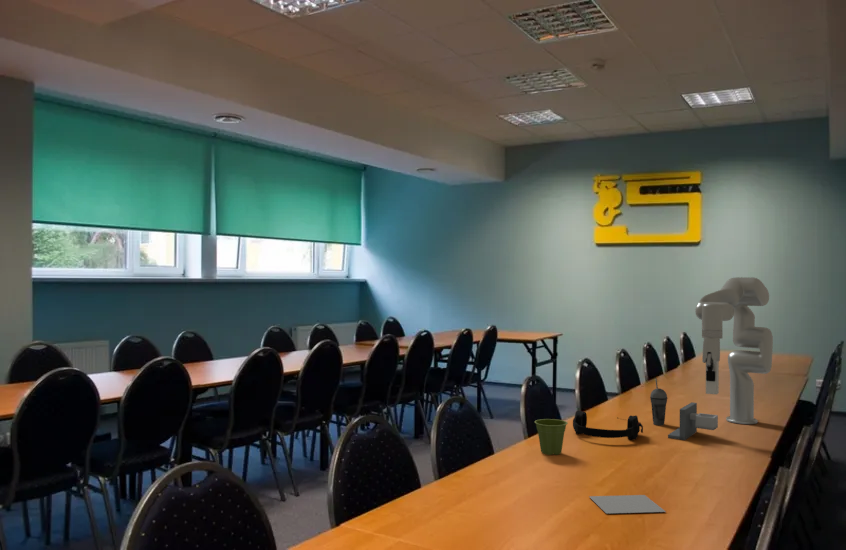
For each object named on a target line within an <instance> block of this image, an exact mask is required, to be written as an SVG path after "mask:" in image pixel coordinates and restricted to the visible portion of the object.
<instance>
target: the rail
mask: <svg viewBox="0 0 846 550" xmlns="http://www.w3.org/2000/svg"><path fill="white" fill-rule="evenodd" d="M719 362H720V361H717V362H716V363H715V368H714V371H715V381H707V380H706V379H705V394H707V395H718V394H719V392H720V391H719V389H720V387H719V385H720V383H719V381H720V380H719V379H720V377H719V375H720V374H719V372H720V370H719V367H720V365H719V364H720V363H719ZM711 363H713V362H711ZM712 367H713V365H712ZM706 368H707V359H706V363H705V372H706V371H707V370H706Z"/></svg>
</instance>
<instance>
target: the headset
mask: <svg viewBox="0 0 846 550" xmlns="http://www.w3.org/2000/svg"><path fill="white" fill-rule="evenodd" d="M617 419H620V418H619V417H617ZM622 420H624V421H625V419H624V418H622ZM626 421H627V422H626V423H627V424H626V426H627V427H626V429H603V428H592V427H589V426H587V425H588V415H587V412H586V411H582V410H576V412H575V414H574V418H573V419H572V427H573V431H574V432H575V434H576V435H585V436H589V437H594V438H604V439H615V438H616V439H620V438H627V439H628V440H633V441H636V440H637V439H638V436H639V433H642V434H643V433H644V426H643V424H642V423H641V422H640V421H639V417H638V415H629V417H628V418H627V420H626Z"/></svg>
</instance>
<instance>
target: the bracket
mask: <svg viewBox="0 0 846 550" xmlns="http://www.w3.org/2000/svg"><path fill="white" fill-rule="evenodd" d="M697 406H698V402H689V403H688V404H686V405H685V406H683V407H681V408H679V427H678V428H677V429H675V430H673V431H671V432H670V433H669V434H667V438H668V439H671V440H673V439H675V440H679V441H686V440H687V439H689V438H690V437H692V436H693V435H695V434H696V433H697V431H698V430H697V429H701V430H707V431H708V430H709V431H715V430H716V429H717V428H718V427H719V424H718V423H719V421H718V420H719V416H718V414H710V413H701V412H699V413H698V411H697V410H698V407H697Z"/></svg>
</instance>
